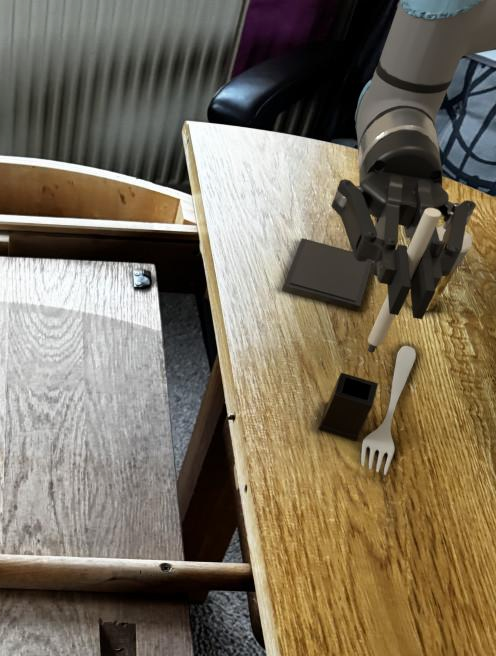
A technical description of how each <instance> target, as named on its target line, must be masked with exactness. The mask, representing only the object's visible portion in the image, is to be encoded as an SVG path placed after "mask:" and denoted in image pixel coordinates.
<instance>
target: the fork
mask: <svg viewBox="0 0 496 656" xmlns="http://www.w3.org/2000/svg"><path fill="white" fill-rule="evenodd" d="M416 353H417V352H416V349H415V348H414V347H413V346H409V345H403V346H402V347H400V348H399V350H398V351H397V353H396V359H395V365H394V371H393V377H392V382H391V389H390V399H389V404H388V408H387V412H386V415H385V417H384V419H383V421H382V423H381V424H380V425H379V426H378V427H377V428H376V429H375V430H373V431H372V432H370V433H369V434H367V435H366V436H365V437H364V438H363V441H362V444H361V456H360V457H361V459H360V461H361V467H362V468H363V467H364V466H365V463H366V455H367V449H369V458H368V470H371V469H372V468H373V463H374V459H375V454H376V451H377V452H378V456H377V462H376V470H375V471H376V473H379V472H380V469H381V467H382V463H383V458H384V456H385V454H386V455H387V458H386V462H385V464H384V468H383V475H384V476H387V473H388V471H389V468H390V465H391V464H392V463H391V462H392V460H393V457H394V454H395V450H396V449H395V443H394V440H393V436H392V432H391V431H392V430H391V427H392V421H393V417H394V414H395V410H396V407H397V404H398V401H399V398H400V396H401V394H402V391H403V390H404V387H405V385H406V383H407V380H408V378H409V375H410V373H411V371H412V368H413V366H414V364H415V361H416V357H417V355H416Z"/></svg>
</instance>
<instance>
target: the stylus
mask: <svg viewBox="0 0 496 656" xmlns="http://www.w3.org/2000/svg"><path fill="white" fill-rule="evenodd" d="M441 217H442V215H441V212H440V211H439V210H437V209H434V208H427V209H425V211H424V213H423V215H422V218H421V220H420V222H419V224H418V227H417V229H416V231H415V233H414V236H413V238H412V240H411V242H410V243H409V245H408V246H407V253H408V262H409V272H410V282H411V280H412V277H413V275H414V273H415V271H416V269H417V267H418V264H419V262H420V260H421V258H422V256H423V254H424V251H425V249H426V247H427V245H428V243H429V241H430V238H431V236H432V234H433V232H434V230H435V227H436V228H437V225H438V223H439V221H440V218H441ZM383 301H384V302H383V303H382V305H381V308H380V310H379V313H378V315H377V318H376V320H375V322H374V325H373V326H372V328H371V331H370V332H369V335H368V337H367V343H368V344H369V345H368V347H367V352H368V353H371V354H372V353H375V351H376V349H377V347H380V346H382V345H383V343H384V341H385V339H386V337H387V334H388V332H389V330H390V328H391V326H392V324H393V321H394V319H395V316H396V315H394V314H389V301H388V294H386V297H385V300H383Z"/></svg>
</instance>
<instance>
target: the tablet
mask: <svg viewBox="0 0 496 656" xmlns="http://www.w3.org/2000/svg"><path fill="white" fill-rule="evenodd" d="M373 263H374V261H373V260H371V259H367V261H365V262H361V261H358V260H356V259H355V257H354V255H353V252H352V250H347V249H344V248H340V247H337V246H333V245H329V244H325V243H322V242H317V241H315V240H312V239H307V238H303V237H301V239H300V242H299V244H298V246H297V249H296V251H295V254H294V257H293V260H292V262H291V264H290V267H289V270H288V272H287V275H286V277H285V281H284V283H283V286H282V289H281V291H282V292H286V293H290V294H294V295H297V296H300V297H304V298H307V299H311V300H314V301H319V302H322V303H325V304H329V305H331V306H336V307H339V308H343V309H346V310H350V311H353V312H359V309H360V307H361V303H362V300H363V296H364V292H365V291H366V290H365V289H366V286H367V283H368V279H369V276H370V273H371V270H372V267H373Z"/></svg>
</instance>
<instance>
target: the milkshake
mask: <svg viewBox="0 0 496 656" xmlns="http://www.w3.org/2000/svg"><path fill="white" fill-rule="evenodd" d="M443 226H444V224H443V225H439V226H436V228H437V232H438V236H439V240H440V241H442V240H443V235H444V233H445V231H446V229H444V228H443ZM472 244H473V238H472V235H470V234H469V233H468V232H467V231H466V230H465V233H464V239H463V245H462V250H461V252H460V254H459V256H458V258H457V260H456V263H455V265H454V267H453V269H452V270H451V273H450V274H449V276H442V277H441V279H440V281H439V283H438V285H437V287H436V290H435V293H434V296H433V298H432V300H431V302H430V304H429V306H428V308H427V310H426V312H427V311H430V310H433V309H434V307H435V306H436V304H437V302H438V301H439V299H440V297H441V296H442V294H443V293H444V292H445V289H446V288H447V286H448V284H449V282H450V281H451V279H452V277H453V276H454V274H455V272H456V271H457V270H458V268H459V266H460V265H461V263H462V262H463V260H464V258H465V256H466V255H467V253H468V252H469V251H470V248H471V247H472ZM405 302H407V304H408V305H409V307H411V308H412V301H411V291H409V293H408V295H407V297H406V299H405Z"/></svg>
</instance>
